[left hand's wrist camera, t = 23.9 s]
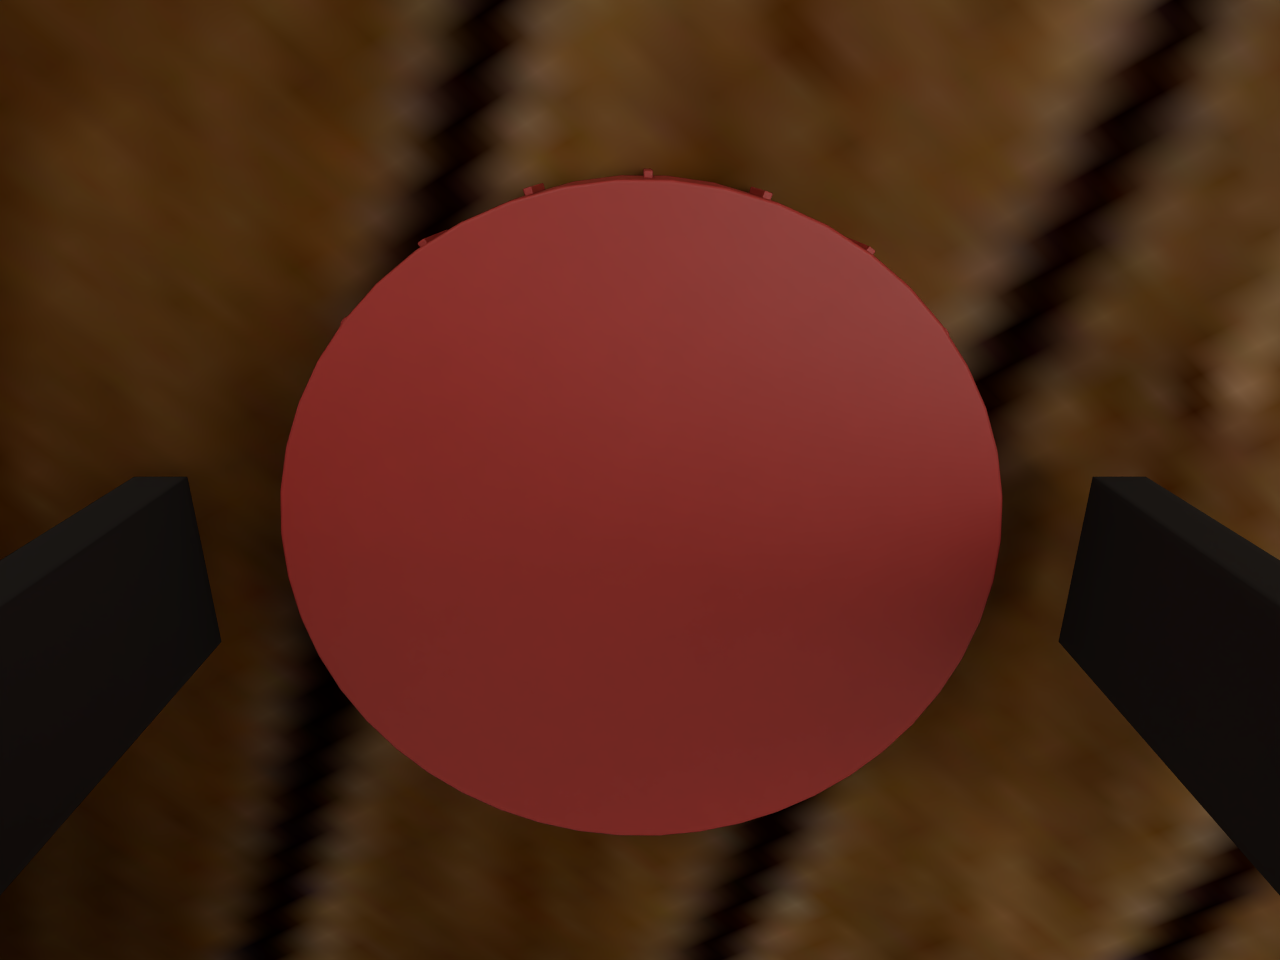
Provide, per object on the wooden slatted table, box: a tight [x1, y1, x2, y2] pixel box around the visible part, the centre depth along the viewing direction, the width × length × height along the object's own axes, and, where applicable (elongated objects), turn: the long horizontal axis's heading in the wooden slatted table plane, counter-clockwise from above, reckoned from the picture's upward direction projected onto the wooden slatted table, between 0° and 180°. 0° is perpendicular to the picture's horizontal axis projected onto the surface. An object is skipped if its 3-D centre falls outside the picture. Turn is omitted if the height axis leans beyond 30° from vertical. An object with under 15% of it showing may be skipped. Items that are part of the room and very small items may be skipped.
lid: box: [281, 169, 1002, 835], centre depth 12 cm, size 10×10×2 cm
